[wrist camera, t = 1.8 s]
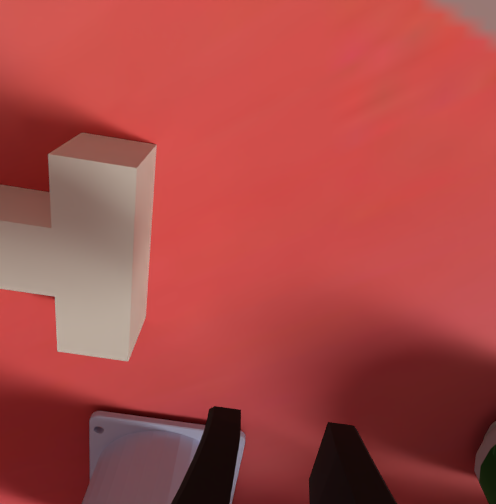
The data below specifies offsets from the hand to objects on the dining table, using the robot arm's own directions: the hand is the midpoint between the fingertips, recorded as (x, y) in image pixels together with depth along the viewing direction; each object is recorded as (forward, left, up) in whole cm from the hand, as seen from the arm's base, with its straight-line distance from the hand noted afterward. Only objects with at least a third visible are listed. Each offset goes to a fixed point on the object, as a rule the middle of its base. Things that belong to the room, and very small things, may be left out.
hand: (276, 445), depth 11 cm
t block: (0, +9, -9) cm, 13 cm away
